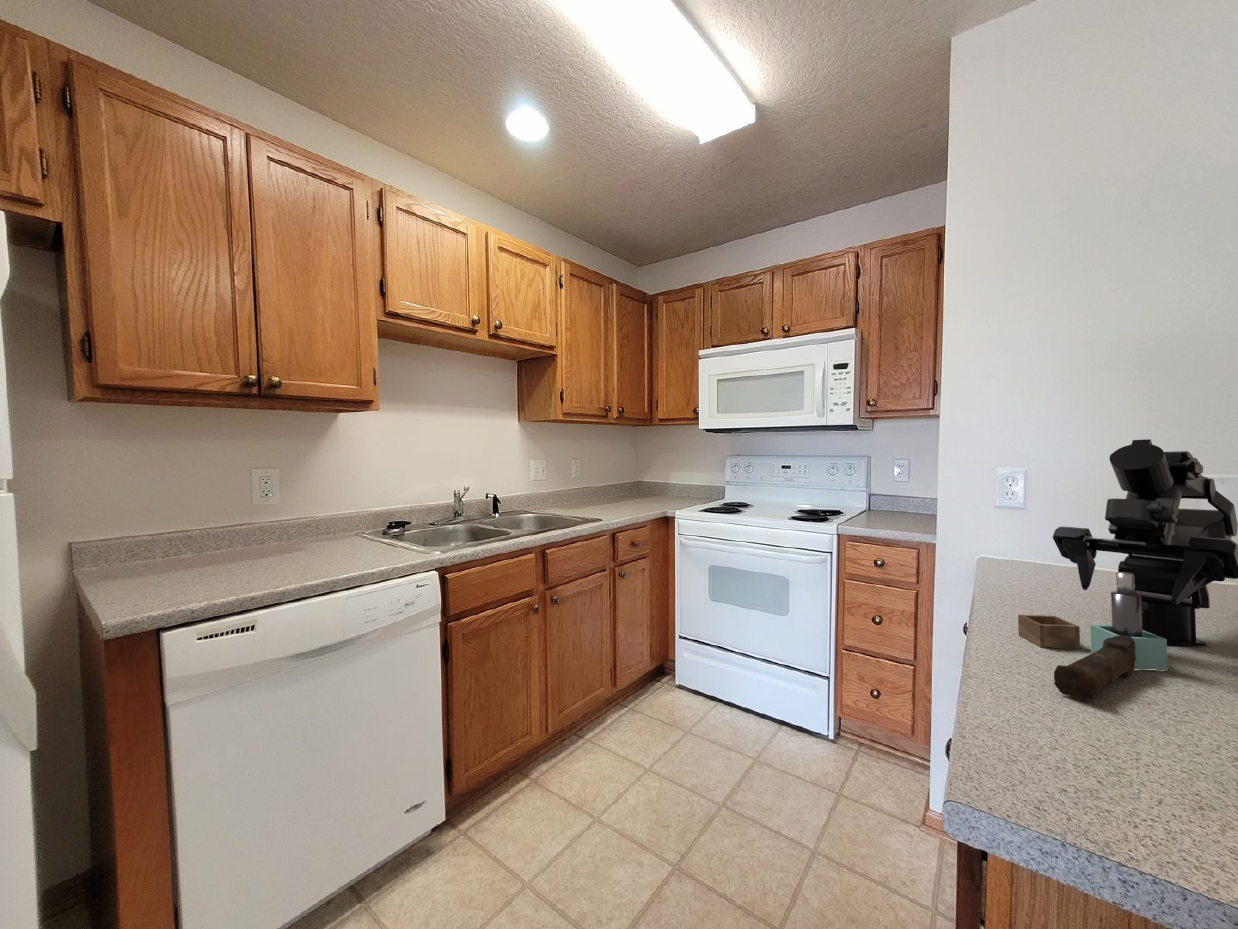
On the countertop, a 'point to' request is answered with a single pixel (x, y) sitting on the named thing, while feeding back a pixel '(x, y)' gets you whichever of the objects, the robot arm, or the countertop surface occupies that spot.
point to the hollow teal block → (1136, 647)
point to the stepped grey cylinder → (1126, 607)
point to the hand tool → (1097, 668)
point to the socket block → (1049, 631)
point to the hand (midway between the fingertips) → (1126, 595)
